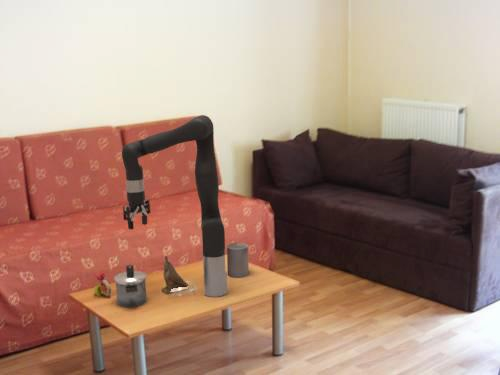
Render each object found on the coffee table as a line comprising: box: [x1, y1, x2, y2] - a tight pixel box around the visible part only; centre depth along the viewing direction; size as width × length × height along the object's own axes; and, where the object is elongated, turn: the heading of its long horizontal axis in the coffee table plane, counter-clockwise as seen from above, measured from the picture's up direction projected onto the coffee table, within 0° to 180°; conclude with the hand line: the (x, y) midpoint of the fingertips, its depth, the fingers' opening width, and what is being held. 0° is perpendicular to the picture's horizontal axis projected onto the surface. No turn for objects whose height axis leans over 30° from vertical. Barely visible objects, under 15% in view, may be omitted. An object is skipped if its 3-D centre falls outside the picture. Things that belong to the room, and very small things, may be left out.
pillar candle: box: [226, 242, 250, 279], centre depth 322 cm, size 10×10×15 cm
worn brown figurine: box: [161, 255, 189, 295], centre depth 304 cm, size 12×6×18 cm, turn 122°
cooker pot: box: [114, 280, 148, 308], centre depth 293 cm, size 18×13×10 cm
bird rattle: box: [93, 270, 112, 298], centre depth 301 cm, size 6×11×9 cm
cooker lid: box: [113, 264, 147, 285], centre depth 291 cm, size 13×13×6 cm
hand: (138, 226), depth 302 cm, fingers open, 8 cm apart
